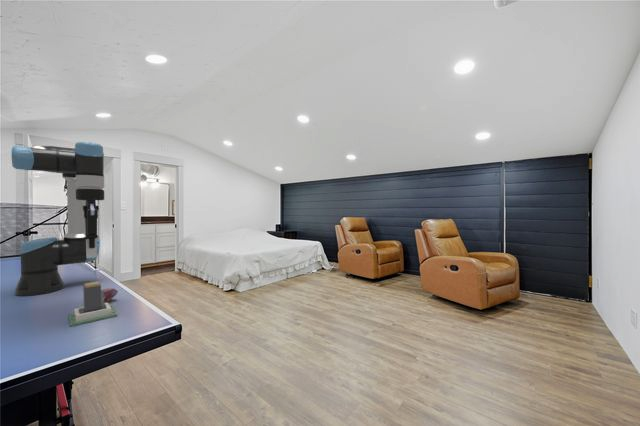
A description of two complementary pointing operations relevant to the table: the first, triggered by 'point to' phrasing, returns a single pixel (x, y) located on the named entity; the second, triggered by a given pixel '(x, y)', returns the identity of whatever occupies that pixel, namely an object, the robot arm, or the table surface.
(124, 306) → the table surface
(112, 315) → the green square tray
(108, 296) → the video game controller
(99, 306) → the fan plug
